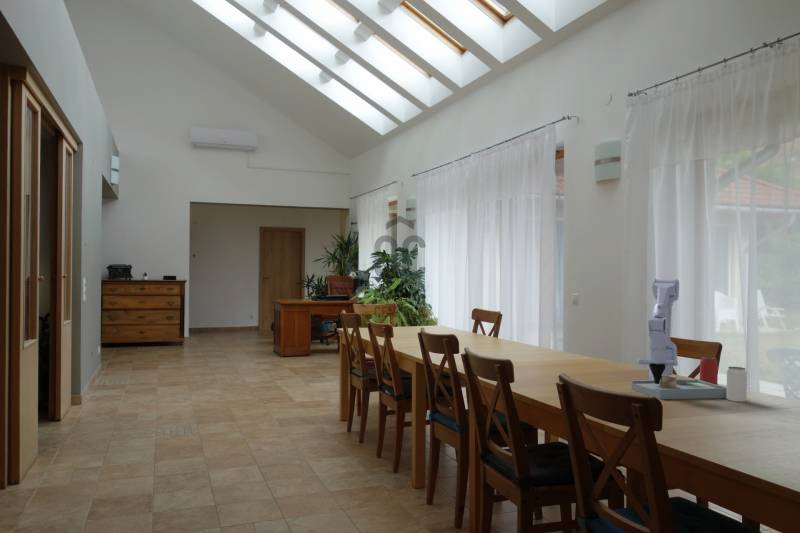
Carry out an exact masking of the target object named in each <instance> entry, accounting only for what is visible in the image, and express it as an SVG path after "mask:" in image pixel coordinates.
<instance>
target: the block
mask: <svg viewBox="0 0 800 533" xmlns="http://www.w3.org/2000/svg"><path fill="white" fill-rule="evenodd" d="M677 380H678V378H677V377H676V376H675V375H674V374H673V375H662V376H661V378H660V382H659V385H660V386H661V387H667V388H676V383H677Z"/></svg>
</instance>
